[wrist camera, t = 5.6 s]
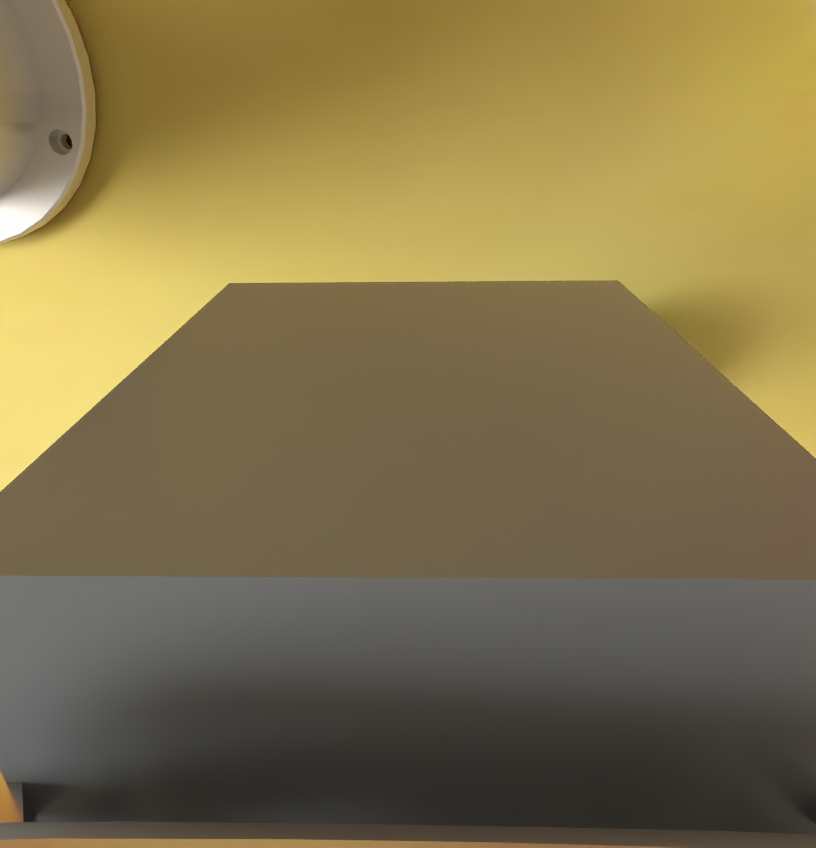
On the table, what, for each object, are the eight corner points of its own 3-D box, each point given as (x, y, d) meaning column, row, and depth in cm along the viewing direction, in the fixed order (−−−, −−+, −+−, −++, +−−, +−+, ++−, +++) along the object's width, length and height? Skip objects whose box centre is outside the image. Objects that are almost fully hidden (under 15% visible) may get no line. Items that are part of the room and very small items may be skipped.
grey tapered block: (229, 283, 13) (-92, 575, 5) (618, 279, 12) (950, 581, 5) (271, 583, 16) (125, 1040, 8) (576, 585, 16) (724, 1054, 8)
